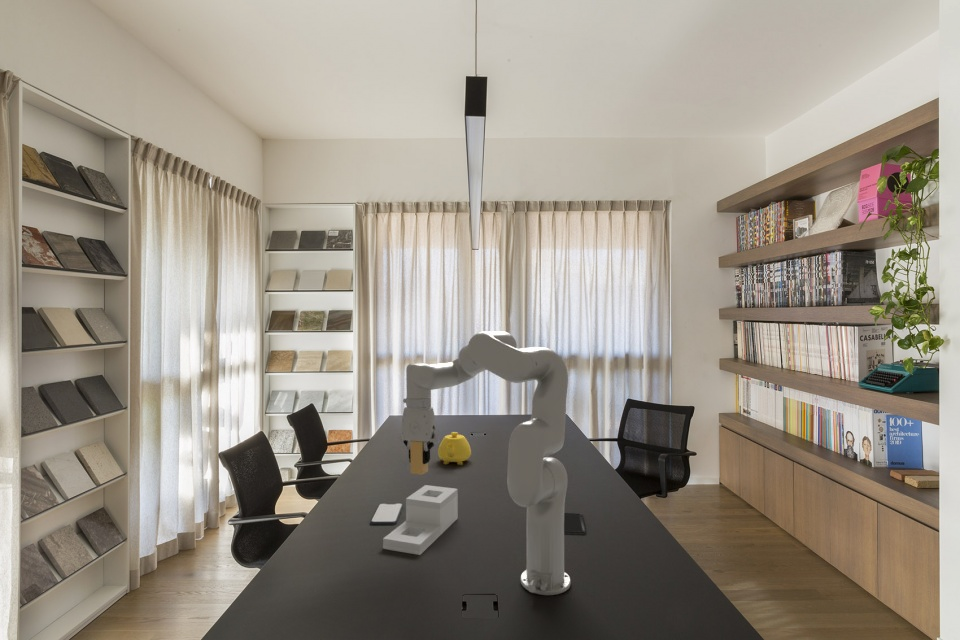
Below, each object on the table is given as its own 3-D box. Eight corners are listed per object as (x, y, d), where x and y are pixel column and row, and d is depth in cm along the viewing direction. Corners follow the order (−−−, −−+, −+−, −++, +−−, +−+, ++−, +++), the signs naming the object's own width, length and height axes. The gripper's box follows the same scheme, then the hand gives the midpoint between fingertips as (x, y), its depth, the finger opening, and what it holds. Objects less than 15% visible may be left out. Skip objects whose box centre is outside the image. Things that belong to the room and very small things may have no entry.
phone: (582, 513, 174) (586, 532, 159) (582, 517, 174) (586, 535, 159) (559, 512, 175) (560, 530, 160) (559, 516, 175) (560, 534, 160)
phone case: (396, 526, 167) (403, 507, 183) (396, 521, 167) (403, 503, 183) (369, 527, 167) (379, 507, 183) (369, 522, 167) (379, 503, 183)
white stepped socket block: (420, 555, 146) (419, 520, 146) (383, 548, 150) (383, 514, 150) (457, 518, 172) (457, 488, 172) (425, 513, 176) (425, 485, 176)
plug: (422, 474, 156) (421, 441, 156) (410, 473, 158) (410, 440, 158) (428, 471, 160) (427, 439, 160) (416, 469, 161) (416, 438, 161)
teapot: (466, 470, 227) (465, 439, 227) (431, 468, 229) (431, 438, 229) (473, 457, 246) (473, 429, 246) (442, 456, 249) (442, 428, 249)
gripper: (389, 403, 158) (389, 463, 158) (437, 406, 152) (438, 468, 152) (401, 400, 165) (401, 456, 165) (448, 402, 159) (449, 461, 159)
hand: (419, 461), depth 159 cm, fingers closed on plug, 3 cm apart
